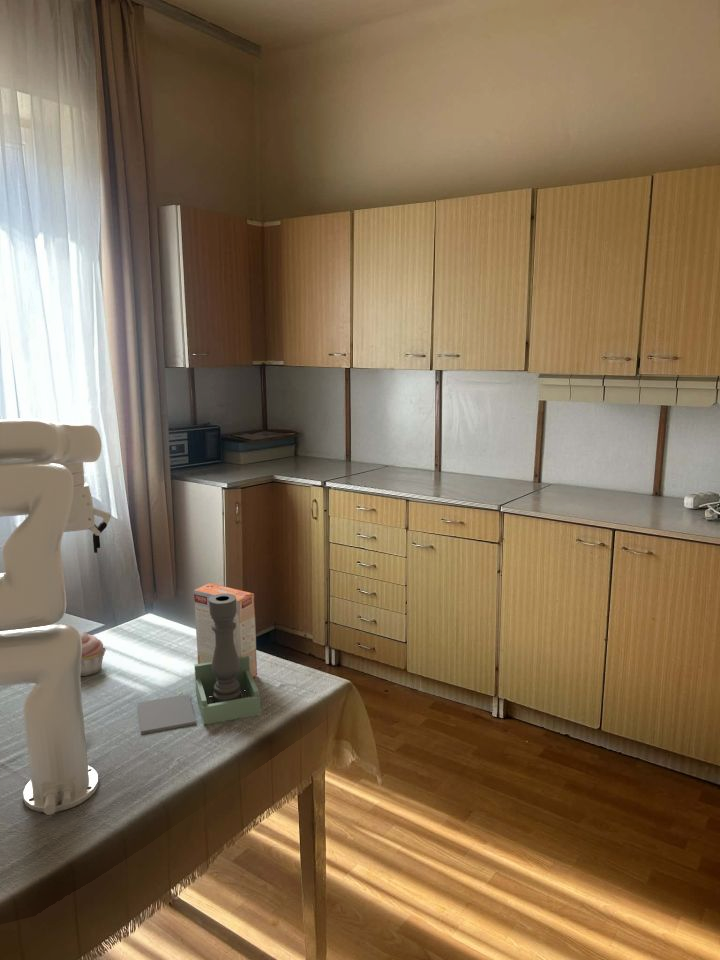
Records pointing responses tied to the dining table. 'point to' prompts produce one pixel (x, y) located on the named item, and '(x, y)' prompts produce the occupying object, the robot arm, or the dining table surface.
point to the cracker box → (243, 620)
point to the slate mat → (165, 713)
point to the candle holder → (224, 648)
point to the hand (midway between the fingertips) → (73, 553)
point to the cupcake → (91, 654)
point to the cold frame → (227, 708)
